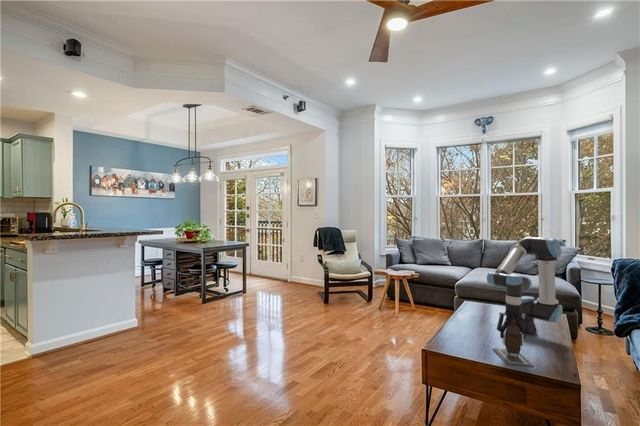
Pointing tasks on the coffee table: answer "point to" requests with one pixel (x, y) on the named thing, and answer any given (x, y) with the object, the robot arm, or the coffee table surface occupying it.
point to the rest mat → (512, 358)
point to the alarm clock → (513, 338)
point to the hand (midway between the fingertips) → (512, 344)
